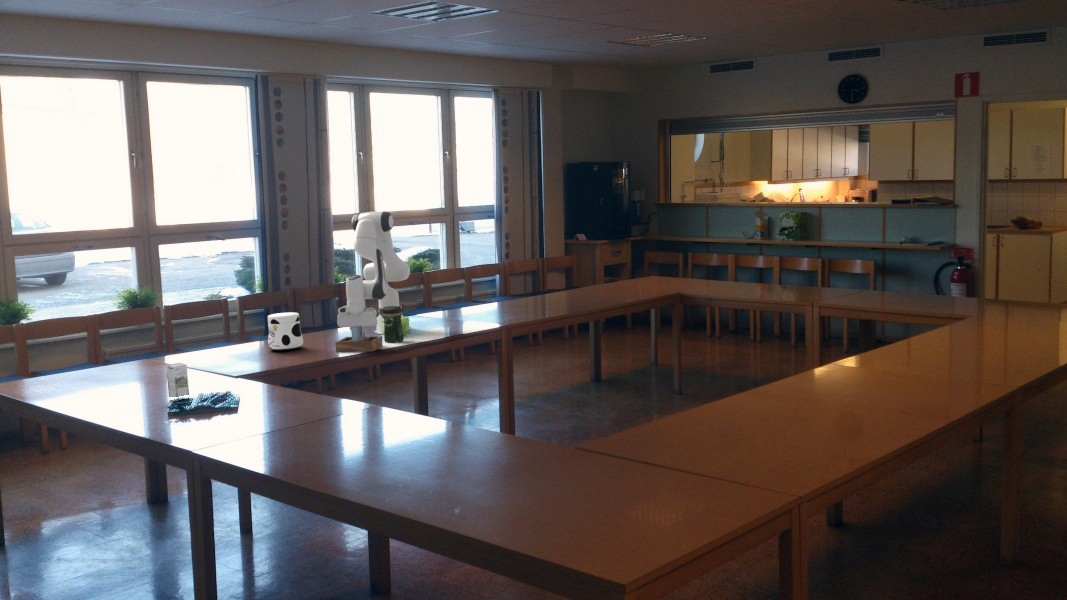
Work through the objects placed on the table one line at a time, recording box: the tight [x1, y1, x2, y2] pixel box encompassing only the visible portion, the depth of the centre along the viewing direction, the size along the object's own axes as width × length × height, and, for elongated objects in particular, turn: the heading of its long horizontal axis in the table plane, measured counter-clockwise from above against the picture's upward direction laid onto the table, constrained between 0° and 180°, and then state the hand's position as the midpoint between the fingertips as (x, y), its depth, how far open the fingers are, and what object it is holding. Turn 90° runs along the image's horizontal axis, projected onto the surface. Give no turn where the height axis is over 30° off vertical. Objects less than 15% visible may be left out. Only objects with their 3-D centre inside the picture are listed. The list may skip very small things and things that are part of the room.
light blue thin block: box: [350, 326, 366, 341], centre depth 473 cm, size 10×3×9 cm, turn 168°
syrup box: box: [165, 362, 190, 398], centre depth 379 cm, size 6×6×14 cm
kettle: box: [382, 316, 411, 337], centre depth 507 cm, size 15×14×11 cm
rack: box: [334, 335, 383, 353], centre depth 474 cm, size 14×19×5 cm
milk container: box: [267, 312, 304, 352], centre depth 482 cm, size 17×17×18 cm
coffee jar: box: [382, 305, 405, 343], centre depth 490 cm, size 10×8×19 cm
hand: (358, 335), depth 473 cm, fingers closed on light blue thin block, 3 cm apart
